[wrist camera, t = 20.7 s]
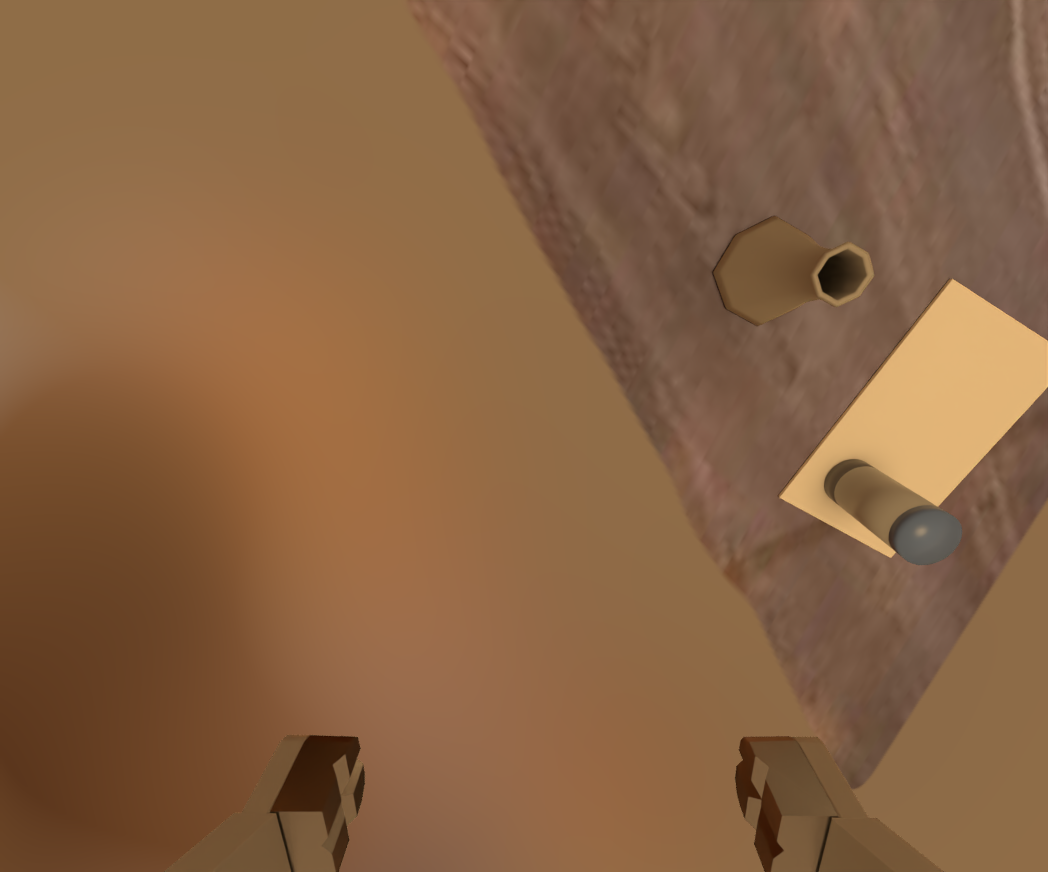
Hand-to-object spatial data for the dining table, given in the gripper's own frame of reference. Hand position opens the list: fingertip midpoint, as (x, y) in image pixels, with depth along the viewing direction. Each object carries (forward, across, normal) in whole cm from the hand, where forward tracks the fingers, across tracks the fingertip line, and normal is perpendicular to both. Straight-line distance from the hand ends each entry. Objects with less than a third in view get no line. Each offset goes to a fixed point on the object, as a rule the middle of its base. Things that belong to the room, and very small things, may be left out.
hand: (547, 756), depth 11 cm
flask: (+31, -17, -9) cm, 37 cm away
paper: (+31, -30, +4) cm, 43 cm away
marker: (+31, -26, +8) cm, 41 cm away
